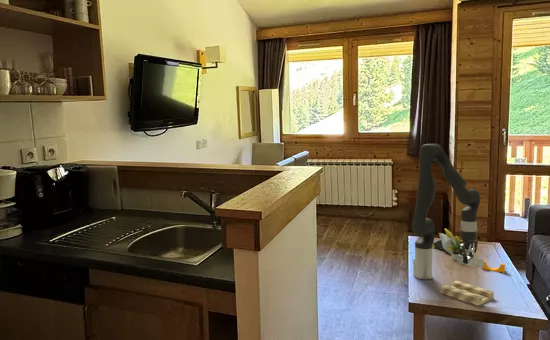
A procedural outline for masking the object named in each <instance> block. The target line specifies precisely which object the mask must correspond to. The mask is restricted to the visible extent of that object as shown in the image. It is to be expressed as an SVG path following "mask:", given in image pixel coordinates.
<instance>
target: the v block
mask: <svg viewBox="0 0 550 340" xmlns="http://www.w3.org/2000/svg"><path fill="white" fill-rule="evenodd" d="M440 293H441V294H444V295H446V296H449V297H451V298H455V299H457V300H460V301H462V302H466V303H469V304H471V305H475V306H481V305H483V304H485V303H486V302H489V301H491V300H493V299H494V293H495V292H494V291H492V290H489V289H486V288H482V287H479V286H476V285H473V284H469V283H466V282H462V281H459V280H455V281H453V282H452V285H451V286H450V285H446V284H444V285H442V286H440Z"/></svg>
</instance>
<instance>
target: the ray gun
mask: <svg viewBox="0 0 550 340" xmlns="http://www.w3.org/2000/svg"><path fill="white" fill-rule="evenodd" d="M443 231H444V232H445V233H441V232H438V236H439V238H440V239H439V240H436V241H434V243H433V245H432V249H436V248H437V249H436V250H440V249H441V250H442V251H446V252H447V253H448V254H450V255H451V252H453V250H452V249H451V248H447V247H452V245H451V244H452V243H451V241H450V239H451V240H452V241H453V243H454V242H455V245H456V240H457V241H458V239H459V236H457V235H455V236H454V234H453V233H452V232H451V230H449V229H447V228H444V230H443ZM455 238H456V239H455ZM448 241H449V242H450V243H451V244H450V243H449V242H448ZM462 242H463V239H460V243H462ZM455 245H454V246H455ZM460 245H461V244H460Z"/></svg>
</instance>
